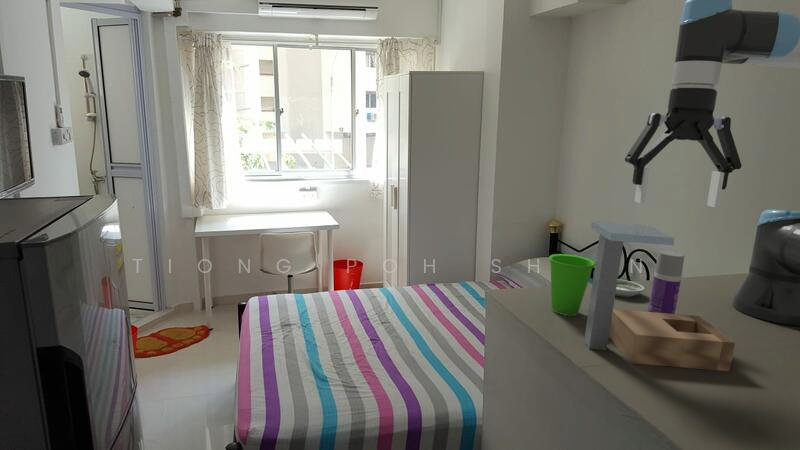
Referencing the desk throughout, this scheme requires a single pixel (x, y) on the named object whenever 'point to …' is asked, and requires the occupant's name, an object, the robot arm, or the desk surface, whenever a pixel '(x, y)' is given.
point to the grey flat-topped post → (612, 274)
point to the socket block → (670, 340)
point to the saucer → (628, 288)
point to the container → (666, 282)
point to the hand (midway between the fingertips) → (675, 204)
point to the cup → (569, 281)
